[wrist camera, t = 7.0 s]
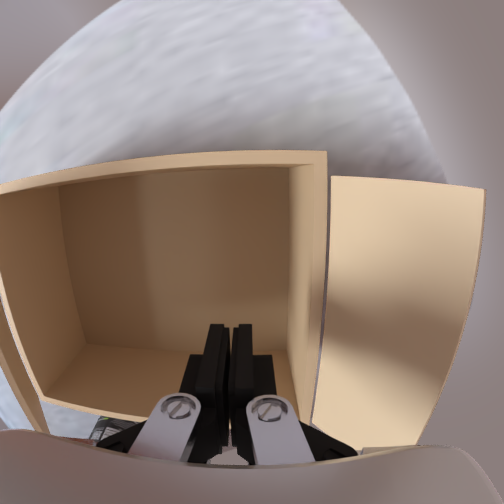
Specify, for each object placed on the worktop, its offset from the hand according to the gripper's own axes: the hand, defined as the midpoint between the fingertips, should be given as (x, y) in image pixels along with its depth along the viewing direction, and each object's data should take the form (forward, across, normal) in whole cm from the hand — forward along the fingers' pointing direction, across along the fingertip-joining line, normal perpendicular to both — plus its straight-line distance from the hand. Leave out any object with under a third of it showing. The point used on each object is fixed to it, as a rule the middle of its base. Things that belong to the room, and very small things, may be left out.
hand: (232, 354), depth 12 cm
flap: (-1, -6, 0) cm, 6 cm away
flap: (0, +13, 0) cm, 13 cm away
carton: (+12, +6, 0) cm, 13 cm away
